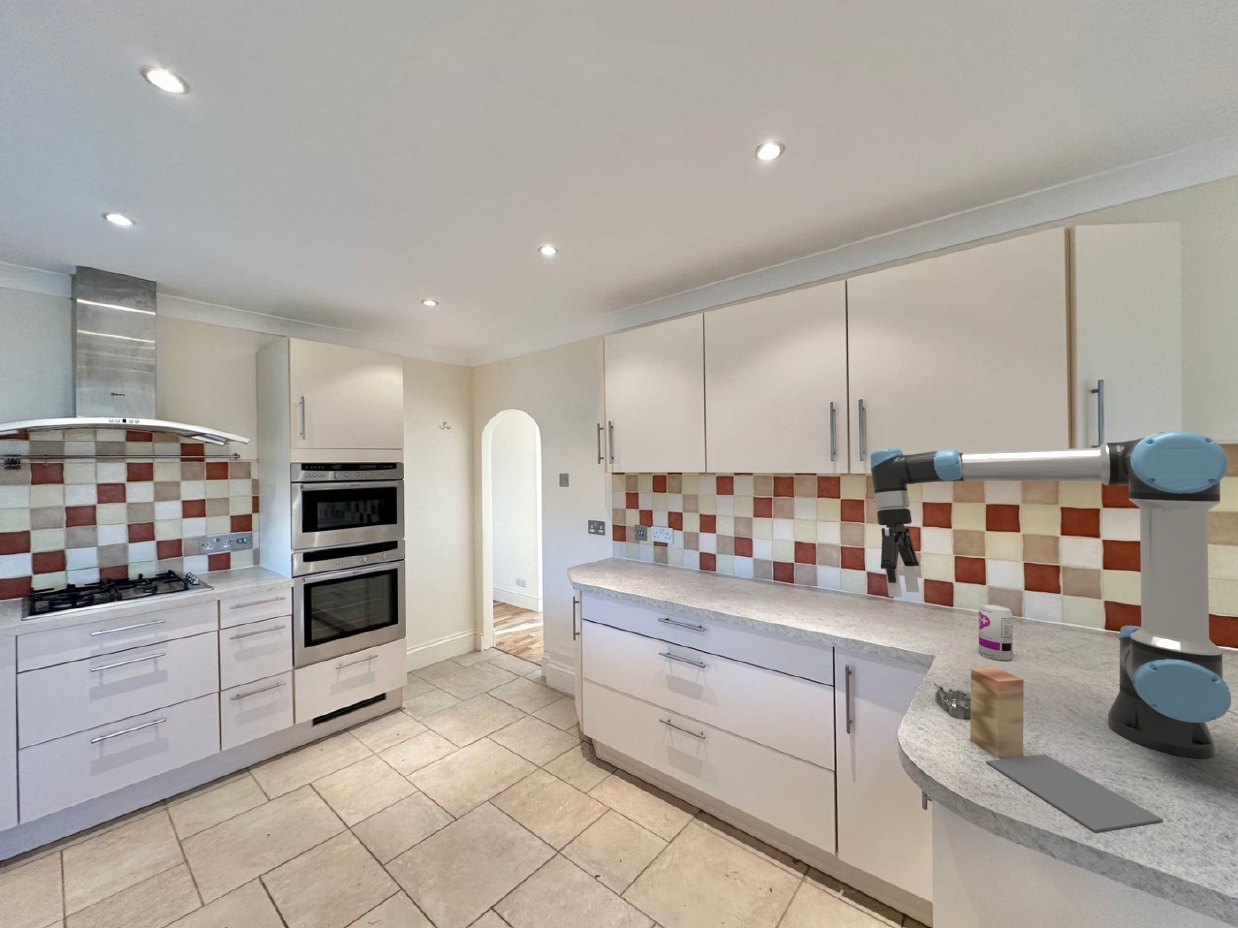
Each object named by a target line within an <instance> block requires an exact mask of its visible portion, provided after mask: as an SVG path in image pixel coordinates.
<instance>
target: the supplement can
mask: <svg viewBox="0 0 1238 928" xmlns="http://www.w3.org/2000/svg"><path fill="white" fill-rule="evenodd" d="M978 615H979V616H978V652H979V653H980V655H982V656H983V655H984V656H983V657H985V656H986V657H985V658H987V657H988V659H990V658H994V659H999V660H998V661H1000V660H1008V661H1010V660H1011V659H1013V647H1014V645H1013V640H1014V638H1013V637H1014V636H1013V632H1014V631H1013V629H1014V624H1013V623H1014V616H1013V615H1014V614H1013V613H1012V611H1011V608H1009V607H1007V606H1002V605H998V604H990V603H989V604H988V603H987V604H981V606H980V608H979V609H978ZM994 659H993V660H994ZM1009 659H1010V660H1009Z"/></svg>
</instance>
